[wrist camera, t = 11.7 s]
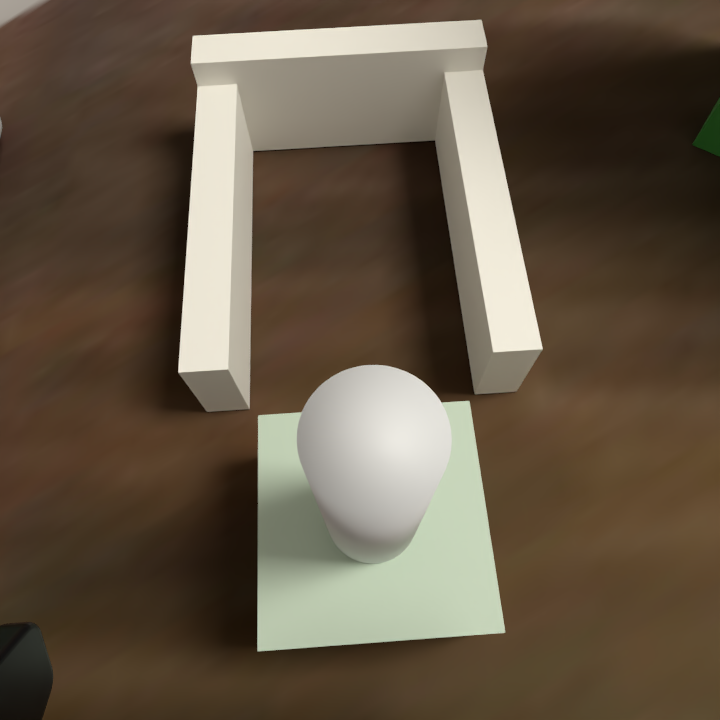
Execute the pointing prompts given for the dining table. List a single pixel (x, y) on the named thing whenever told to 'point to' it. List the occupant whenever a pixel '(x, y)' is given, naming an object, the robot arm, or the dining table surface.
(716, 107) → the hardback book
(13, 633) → the robot arm
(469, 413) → the handle block
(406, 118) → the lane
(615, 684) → the dining table surface
